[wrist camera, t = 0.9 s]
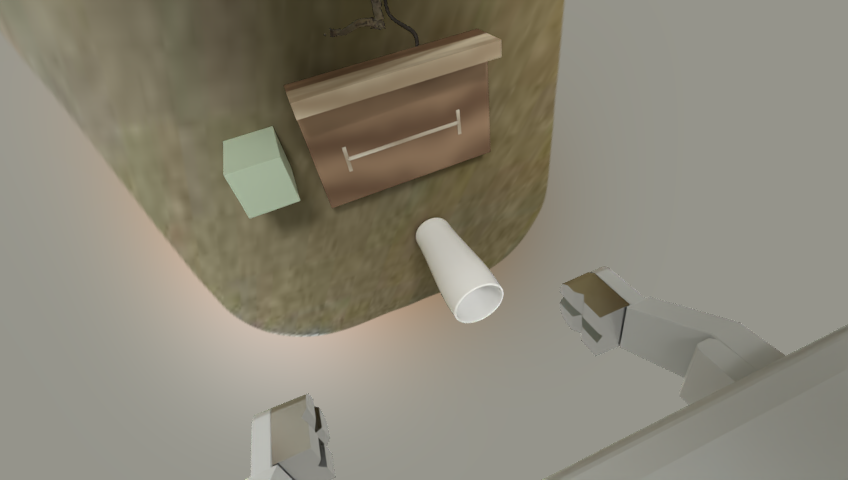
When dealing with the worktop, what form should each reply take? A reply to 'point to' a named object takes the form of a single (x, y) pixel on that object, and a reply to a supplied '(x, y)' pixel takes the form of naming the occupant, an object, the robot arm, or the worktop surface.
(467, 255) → the drinking glass
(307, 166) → the worktop surface
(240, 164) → the block
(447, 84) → the walnut board
